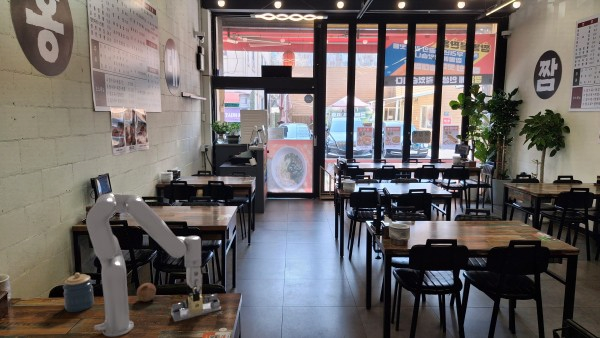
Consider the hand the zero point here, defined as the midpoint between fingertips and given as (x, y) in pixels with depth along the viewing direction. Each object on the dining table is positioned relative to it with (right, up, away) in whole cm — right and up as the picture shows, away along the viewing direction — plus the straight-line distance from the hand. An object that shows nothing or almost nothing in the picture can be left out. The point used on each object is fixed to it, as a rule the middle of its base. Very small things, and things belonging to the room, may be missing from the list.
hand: (193, 297), depth 188 cm
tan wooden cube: (+1, -7, +1) cm, 7 cm away
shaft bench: (+1, -8, +1) cm, 8 cm away
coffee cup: (-4, -6, +19) cm, 20 cm away
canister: (-60, -8, +10) cm, 61 cm away
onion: (-28, -7, +15) cm, 33 cm away
